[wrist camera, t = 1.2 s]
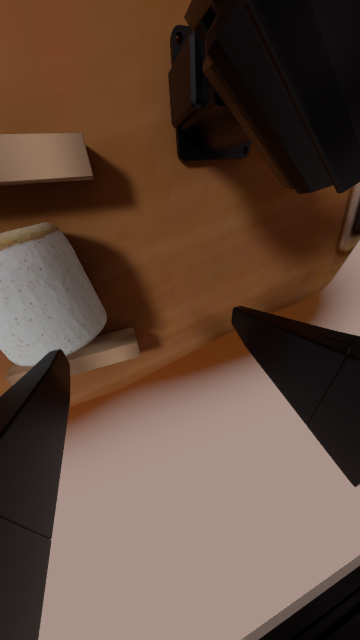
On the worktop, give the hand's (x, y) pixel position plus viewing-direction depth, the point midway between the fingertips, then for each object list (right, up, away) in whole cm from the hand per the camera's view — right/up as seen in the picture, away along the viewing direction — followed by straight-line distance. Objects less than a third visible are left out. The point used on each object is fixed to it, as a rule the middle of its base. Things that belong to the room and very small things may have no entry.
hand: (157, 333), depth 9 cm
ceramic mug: (-12, +4, +8) cm, 15 cm away
